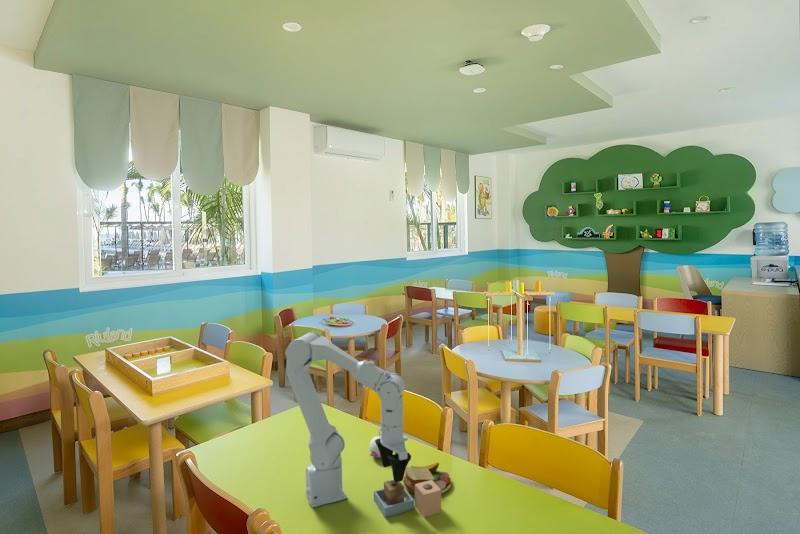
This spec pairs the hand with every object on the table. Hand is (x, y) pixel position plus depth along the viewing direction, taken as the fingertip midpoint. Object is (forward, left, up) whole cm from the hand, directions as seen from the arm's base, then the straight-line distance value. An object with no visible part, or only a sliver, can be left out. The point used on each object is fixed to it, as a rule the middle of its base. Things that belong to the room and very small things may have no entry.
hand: (392, 473), depth 117 cm
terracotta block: (+7, -6, -8) cm, 13 cm away
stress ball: (+6, +25, -9) cm, 27 cm away
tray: (0, 0, -8) cm, 8 cm away
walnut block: (0, 0, -8) cm, 8 cm away
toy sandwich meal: (+12, +4, -9) cm, 15 cm away
